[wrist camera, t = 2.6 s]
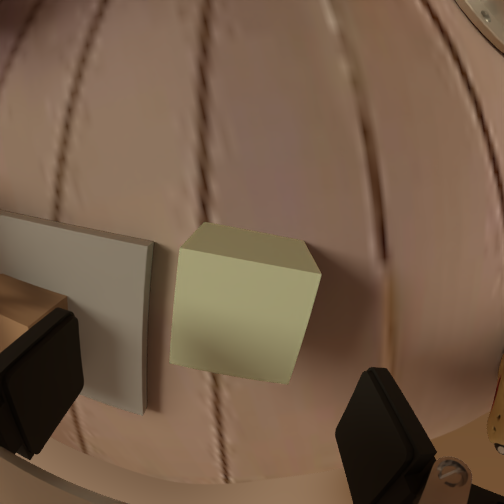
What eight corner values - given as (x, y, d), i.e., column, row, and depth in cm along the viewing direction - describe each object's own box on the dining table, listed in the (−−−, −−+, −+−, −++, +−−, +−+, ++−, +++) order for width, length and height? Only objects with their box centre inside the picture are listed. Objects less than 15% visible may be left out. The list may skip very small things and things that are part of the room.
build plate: (154, 241, 16) (147, 246, 15) (147, 406, 19) (142, 415, 18) (-16, 206, 15) (-25, 209, 14) (1, 348, 19) (-5, 354, 18)
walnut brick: (67, 295, 16) (27, 326, 12) (75, 373, 17) (48, 409, 13) (1, 273, 16) (-38, 295, 12) (14, 346, 17) (-16, 374, 13)
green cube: (303, 240, 16) (321, 274, 11) (281, 326, 17) (288, 384, 12) (204, 221, 15) (179, 247, 11) (192, 310, 17) (169, 363, 12)
